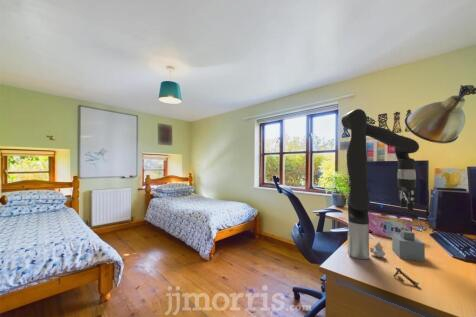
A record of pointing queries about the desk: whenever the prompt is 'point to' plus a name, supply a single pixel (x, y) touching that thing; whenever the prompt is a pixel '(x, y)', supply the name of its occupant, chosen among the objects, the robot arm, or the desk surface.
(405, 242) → the grey rectangular box
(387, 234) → the gum box
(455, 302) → the desk surface
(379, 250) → the pale blue irregular piece
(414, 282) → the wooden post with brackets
